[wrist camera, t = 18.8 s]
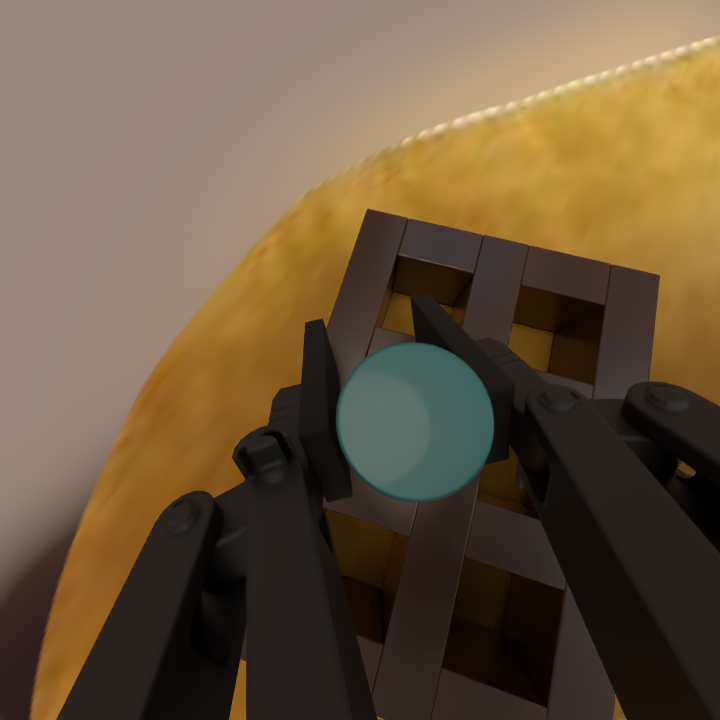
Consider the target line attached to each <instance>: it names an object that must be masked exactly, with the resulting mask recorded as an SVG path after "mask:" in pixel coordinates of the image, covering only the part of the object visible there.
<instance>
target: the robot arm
mask: <svg viewBox="0 0 720 720" xmlns="http://www.w3.org/2000/svg"><path fill="white" fill-rule="evenodd" d="M411 305H412V313H413V322H414V330H415V339H416V343H425V344H430V345H434V346H437V347H440V348H443V349H445V350H447V351H449V352H451V353H453V354H454V355H456V356H457V357H459V358H460V359H462V360H463V361H464V362H465V363H466V364H468V365H469V367H470V368H471V369H472V370H473V371H474V372H475V373H476V374H477V376H478V377H479V379H480V380H481V381H482V383H483V385H484V387H485V389H486V391H487V393H488V396H489V398H490V401H491V405H492V409H493V415H494V436H493V442H492V446H491V450H490V453H489V455H488V457H487V460H486V462H485V464H490V463H494V462H498V461H502V460H506V459H509V448H510V446H511V447H512V449H513V450H514V451H515V453H516V454H517V456H518V457H519V458H518V466H517V475H516V487H517V489H521V487H522V480H523V482H524V485H525V487H526V489H527V491H528V494H529V496H530V498H531V501H532V503H533V505H534V508H535V510H536V512H537V514H538V517H539V519H540V521H541V524H542V526H543V528H544V531H545V533H546V535H547V537H548V540H549V542H550V544H551V547H552V549H553V551H554V554H555V556H556V558H557V560H558V563H559V565H560V567H561V570H562V572H563V574H564V577H565V579H566V581H567V583H568V586H569V588H570V590H571V593H572V595H573V597H574V600H575V602H576V604H577V606H578V609H579V611H580V613H581V616H582V618H583V620H584V623H585V625H586V627H587V629H588V632H589V634H590V636H591V639H592V641H593V643H594V646H595V648H596V650H597V652H598V655H599V657H600V659H601V662H602V664H603V666H604V669H605V671H606V673H607V675H608V678H609V680H610V682H611V685H612V687H613V689H614V691H615V694H616V696H617V698H618V701H619V703H620V705H621V708H622V710H623V712H624V714H625V717H626V719H627V720H720V406H718V405H716V404H714V403H713V402H711V401H709V400H707V399H705V398H703V397H701V396H700V395H698V394H696V393H694V392H692V391H689V390H687V389H685V388H682V387H680V386H677V385H672V384H668V383H664V382H651V381H648V382H641V383H636V384H634V385H632V386H630V387H629V389H628V391H627V393H626V396H625V399H587V398H586V397H585V396H584V395H583V394H582V393H580V392H579V391H577V390H575V389H572V388H570V387H568V386H563V385H558V384H549V383H548V382H546V381H545V380H544V379H543V378H542V377H541V376H540V375H539V374H537V373H536V372H535V371H534V370H533V369H532V368H531V367H530V366H528V365H527V364H526V363H525V362H524V361H523V360H520V358H519V357H518V356H517V355H516V354H515V353H513V352H512V350H510V349H509V348H508V347H507V346H506V345H505V344H504V343H502V342H499V341H497V340H495V339H492V338H490V337H489V338H485V339H481V340H477V341H474V340H473V339H472V338H471V337H470V336H469V335H468V334H467V333H466V332H465V331H464V330H463V329H462V328H461V327H460V326H459V325H458V324H457V323H456V322H455V321H454V319H453V318H452V317H451V316H450V315H449V314H448V313H447V312H446V311H445V310H444V309H443V308H442V307H441V306H440V305H439V304H438V303H437V302H436V301H435V300H434V299H433V298H432V297H431V296H430V295H429V294H428V293H427V294H423V295H418V296H414V297H411ZM340 393H341V391H340V383H339V374H338V369H337V365H336V362H335V359H334V355H333V352H332V348H331V345H330V341H329V338H328V335H327V331H326V328H325V324H324V321H323V319H318V320H314V321H310V322H306V323H305V334H304V349H303V365H302V380H301V384H298V385H294V386H290V387H286V388H282V389H280V390H279V392H278V393H277V394H276V396H275V397H274V399H273V402H272V407H271V413H270V418H269V421H270V422H269V423H268V426H264V427H260V428H258V429H256V430H254V431H252V432H250V433H249V434H248V435H246V436H245V437H244V438H243V439H241V440H240V442H239V443H238V445H237V446H236V447H235V449H234V452H233V455H232V458H233V460H234V462H235V463H236V465H237V466H238V468H239V469H240V471H241V473H242V474H243V476H244V477H245V479H246V480H245V481H244V482H243V483H241V484H239V485H238V486H236V487H234V488H232V489H231V490H229V491H227V492H225V493H223V494H221V495H219V496H217V497H215V498H213V497H212V495H211V494H209V493H207V492H205V491H193V492H191V493H188V494H185V495H183V496H181V497H180V498H178V499H177V500H175V501H174V502H172V503H171V504H170V505H169V506H168V507H167V508H166V509H165V510H164V511H163V512H162V513H161V515H160V516H159V518H158V519H157V521H156V522H155V524H154V526H153V528H152V530H151V532H150V534H149V536H148V538H147V540H146V542H145V544H144V546H143V548H142V550H141V552H140V554H139V556H138V558H137V560H136V562H135V564H134V566H133V568H132V570H131V572H130V574H129V576H128V578H127V580H126V582H125V584H124V586H123V588H122V590H121V592H120V594H119V596H118V598H117V600H116V602H115V604H114V606H113V608H112V610H111V612H110V614H109V616H108V618H107V620H106V622H105V624H104V626H103V628H102V630H101V632H100V634H99V636H98V638H97V640H96V642H95V644H94V646H93V648H92V650H91V652H90V653H89V655H88V657H87V659H86V661H85V663H84V665H83V667H82V669H81V671H80V673H79V675H78V677H77V679H76V681H75V683H74V685H73V687H72V689H71V691H70V693H69V695H68V697H67V699H66V701H65V703H64V705H63V707H62V709H61V711H60V713H59V715H58V717H57V719H56V720H229V716H230V710H231V705H232V700H233V694H234V689H235V684H236V678H237V673H238V668H239V662H240V657H241V652H242V646H243V641H244V636H245V630H246V720H377V716H376V712H375V708H374V704H373V700H372V696H371V692H370V688H369V684H368V680H367V676H366V672H365V668H364V664H363V660H362V656H361V651H360V647H359V643H358V639H357V635H356V631H355V627H354V623H353V619H352V615H351V611H350V607H349V603H348V599H347V595H346V591H345V587H344V583H343V579H342V575H341V571H340V567H339V563H338V559H337V555H336V551H335V546H334V542H333V538H332V534H331V530H330V526H329V522H328V518H327V516H326V514H325V512H324V510H323V495H324V497H325V499H326V501H327V503H328V502H332V501H336V500H341V499H345V498H349V497H353V492H352V484H351V475H350V467H349V463H348V462H347V460H346V458H345V456H344V454H343V452H342V449H341V447H340V444H339V440H338V436H337V430H336V409H337V403H338V399H339V395H340ZM682 461H683V462H684V463H686V464H687V465H688V466H690V467H691V468H692V469H694V470H695V471H697V472H696V473H695V475H694V476H691V475H687V474H686V473H684V472H682V471H681V470H679V469H678V467H679V466H680V464H681V462H682ZM485 464H484V465H485Z"/></svg>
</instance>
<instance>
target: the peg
mask: <svg viewBox="0 0 720 720" xmlns="http://www.w3.org/2000/svg"><path fill="white" fill-rule="evenodd" d="M336 430H337V436H338V440H339V444H340V447H341V449H342V452H343V454H344V456H345V458H346V460H347V462H348V463H349V465H350V467H351V468H352V469H353V470H354V472H355V473H356V474H357V475H358V476H359V477H360V478H361V479H362V480H363V481H364V482H365V483H366V484H367V485H369V486H370V487H371V488H373V489H374V490H376V491H378V492H379V493H381V494H383V495H385V496H388V497H390V498H393V499H397V500H400V501H405V502H414V503H417V502H430V501H436V500H439V499H442V498H446V497H448V496H450V495H452V494H454V493H456V492H458V491H459V490H461V489H462V488H464V487H465V486H466V485H467V484H468V483H470V482H471V481H472V480H473V479H474V478H475V476H476V475H477V474H478V473H479V471H480V470H481V468H482V467H483V465H484V464H485V462H486V460H487V457H488V455H489V453H490V450H491V446H492V442H493V436H494V415H493V409H492V405H491V401H490V398H489V396H488V393H487V391H486V389H485V387H484V385H483V383H482V381H481V380H480V379H479V377H478V376H477V374H476V373H475V372H474V371H473V370H472V369H471V368H470V367H469V365H468V364H466V363H465V362H464V361H463V360H462V359H460V358H459V357H457V356H456V355H454V354H453V353H451V352H449V351H447V350H445V349H443V348H440V347H437V346H434V345H430V344H425V343H415V342H410V343H399V344H394V345H391V346H387V347H384V348H382V349H380V350H378V351H376V352H374V353H372V354H371V355H369V356H368V357H366V358H365V359H364V360H363V361H361V362H360V363H359V364H358V365H357V366H356V367H355V369H354V370H353V371H352V372H351V374H350V375H349V376H348V378H347V380H346V382H345V383H344V385H343V387H342V390H341V393H340V395H339V399H338V403H337V409H336Z"/></svg>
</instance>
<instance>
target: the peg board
mask: <svg viewBox="0 0 720 720" xmlns="http://www.w3.org/2000/svg"><path fill="white" fill-rule="evenodd" d="M659 280H660V275H657V274H653V273H648V272H644V271H639V270H635V269H631V268H626V267H622V266H617V265H611V264H609V263H605V262H600V261H596V260H591V259H587V258H583V257H578V256H574V255H569V254H565V253H561V252H556V251H552V250H547V249H543V248H538V247H534V246H528V245H526V244H522V243H517V242H513V241H508V240H504V239H500V238H495V237H491V236H486V235H484V236H483V235H480V234H476V233H471V232H467V231H463V230H458V229H454V228H449V227H445V226H441V225H436V224H432V223H427V222H423V221H418V220H414V219H408V218H406V217H401V216H397V215H392V214H388V213H384V212H379V211H375V210H370V209H367V211H366V214H365V217H364V220H363V223H362V226H361V229H360V231H359V234H358V237H357V240H356V243H355V246H354V249H353V252H352V255H351V258H350V261H349V264H348V267H347V270H346V273H345V276H344V279H343V282H342V285H341V288H340V291H339V294H338V296H337V299H336V302H335V305H334V308H333V311H332V314H331V317H330V320H329V323H328V326H327V329H326V331H327V335H328V338H329V341H330V345H331V348H332V352H333V355H334V359H335V362H336V365H337V369H338V374H339V383H340V391H341V390H342V387H343V385H344V383H345V382H346V380H347V378H348V376H349V375H350V374H351V372H352V371H353V370H354V369H355V367H356V366H357V365H358V364H359V363H360V362H361V361H363V360H364V359H365V358H366V357H368V356H369V355H371V354H372V353H374V352H376V351H378V350H380V349H382V348H384V347H387V346H391V345H394V344H399V343H410V342H415V343H416V339H415V337H413V336H409V335H405V334H402V333H398V332H394V331H390V330H387V329H383V328H382V324H383V321H384V318H385V314H386V311H387V308H388V304H389V301H390V298H391V294H392V291H395V292H399V293H403V294H407V295H410V296H418V295H423V294H427V293H428V294H429V295H430V296H431V297H432V298H433V299H434V300H435V301H436V302H438V303H442V304H446V305H450V306H453V310H452V314H451V317H452V318H453V319H454V321H455V322H456V323H457V324H458V325H459V326H460V327H461V328H462V329H463V330H464V331H465V332H466V333H467V334H468V335H469V336H470V337H471V338H472V339H473V340H474V341H477V340H481V339H485V338H489V337H490V338H492V339H495V340H497V341H499V342H502V343H504V344H505V345H506V346H507V347H508V342H509V338H510V333H511V328H512V323H513V322H516V323H520V324H524V325H528V326H531V327H535V328H539V329H543V330H547V331H551V332H555V336H554V341H553V347H552V353H551V358H550V364H549V370H548V373H547V372H543V371H539V370H535V369H533V370H534V371H535V372H536V373H537V374H539V375H540V376H541V377H542V378H543V379H544V380H545V381H546V382H548V383H549V384H558V385H563V386H568V387H570V388H572V389H575V390H577V391H579V392H580V393H582V394H583V395H584V396H585V397H586V398H587V399H625V396H626V393H627V391H628V389H629V387H630V386H632V385H634V384H636V383H641V382H648V381H649V374H650V364H651V355H652V346H653V336H654V327H655V317H656V308H657V299H658V289H659ZM349 467H350V465H349ZM482 468H483V467H482ZM482 468H481V470H480V471H479V473H478V474H477V475H476V476H475V478H474V479H473V480H472V481H471V482H470V483H468V484H467V485H466V486H465V487H464V488H462V489H461V490H459V491H458V492H456V493H454V494H452V495H450V496H448V497H446V498H442V499H439V500H436V501H430V502H417V503H414V502H405V501H400V500H397V499H393V498H390V497H388V496H385V495H383V494H381V493H379V492H378V491H376V490H374V489H373V488H371V487H370V486H369V485H367V484H366V483H365V482H364V481H363V480H362V479H361V478H360V477H359V476H358V475H357V474H356V473H355V472H354V470H353V469H352V468H351V467H350V475H351V484H352V492H353V497H349V498H345V499H341V500H336V501H332V502H328V503H327V501H326V499H325V497H324V495H323V510H324V512H325V514H326V511H327V509H329V510H332V511H335V512H338V513H341V514H344V515H347V516H349V517H352V518H355V519H358V520H361V521H364V522H367V523H370V524H373V525H376V526H379V527H381V528H384V529H387V530H390V531H393V532H396V536H395V540H394V544H393V548H392V552H391V556H390V560H389V563H388V567H387V571H386V575H385V579H384V583H383V587H382V591H381V590H380V589H378V588H375V587H372V586H369V585H367V584H364V583H361V582H358V581H356V580H353V579H350V578H348V577H345V576H342V579H343V583H344V587H345V591H346V595H347V599H348V603H349V607H350V611H351V615H352V619H353V623H354V627H355V631H356V635H357V639H358V643H359V647H360V651H361V656H362V660H363V664H364V668H365V672H366V676H367V680H368V684H369V688H370V692H371V696H372V700H373V704H374V708H375V712H376V716H378V717H380V718H383V719H385V720H613V712H614V703H615V691H614V689H613V687H612V685H611V682H610V680H609V678H608V675H607V673H606V671H605V669H604V666H603V664H602V662H601V659H600V657H599V655H598V652H597V650H596V648H595V646H594V643H593V641H592V639H591V636H590V634H589V632H588V629H587V627H586V625H585V623H584V620H583V618H582V616H581V613H580V611H579V609H578V606H577V604H576V602H575V600H574V597H573V595H572V593H571V590H570V588H569V586H568V583H567V581H566V579H565V577H564V574H563V572H562V570H561V567H560V565H559V563H558V560H557V558H556V556H555V554H554V551H553V549H552V547H551V544H550V542H549V540H548V537H547V535H546V533H545V531H544V528H543V526H542V524H541V521H540V519H539V517H538V514H537V512H536V510H535V508H534V505H533V503H532V501H531V498H530V496H529V494H528V491H527V495H526V500H525V506H524V505H521V504H518V503H515V502H512V501H508V500H505V499H502V498H499V497H496V496H493V495H490V494H486V493H483V492H480V491H478V487H479V482H480V477H481V472H482ZM464 556H465V557H468V558H471V559H474V560H477V561H480V562H483V563H485V564H488V565H491V566H494V567H497V568H500V569H503V570H506V571H509V572H512V573H513V574H512V580H511V585H510V591H509V597H508V603H507V608H506V614H505V620H504V625H503V631H502V634H501V633H498V632H496V631H493V630H490V629H487V628H485V627H482V626H479V625H476V624H474V623H471V622H468V621H466V620H463V619H460V618H457V617H455V616H452V612H453V607H454V603H455V598H456V593H457V588H458V583H459V578H460V574H461V569H462V564H463V559H464ZM240 659H242V660H244V661H246V630H245V636H244V641H243V646H242V652H241V657H240Z"/></svg>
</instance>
